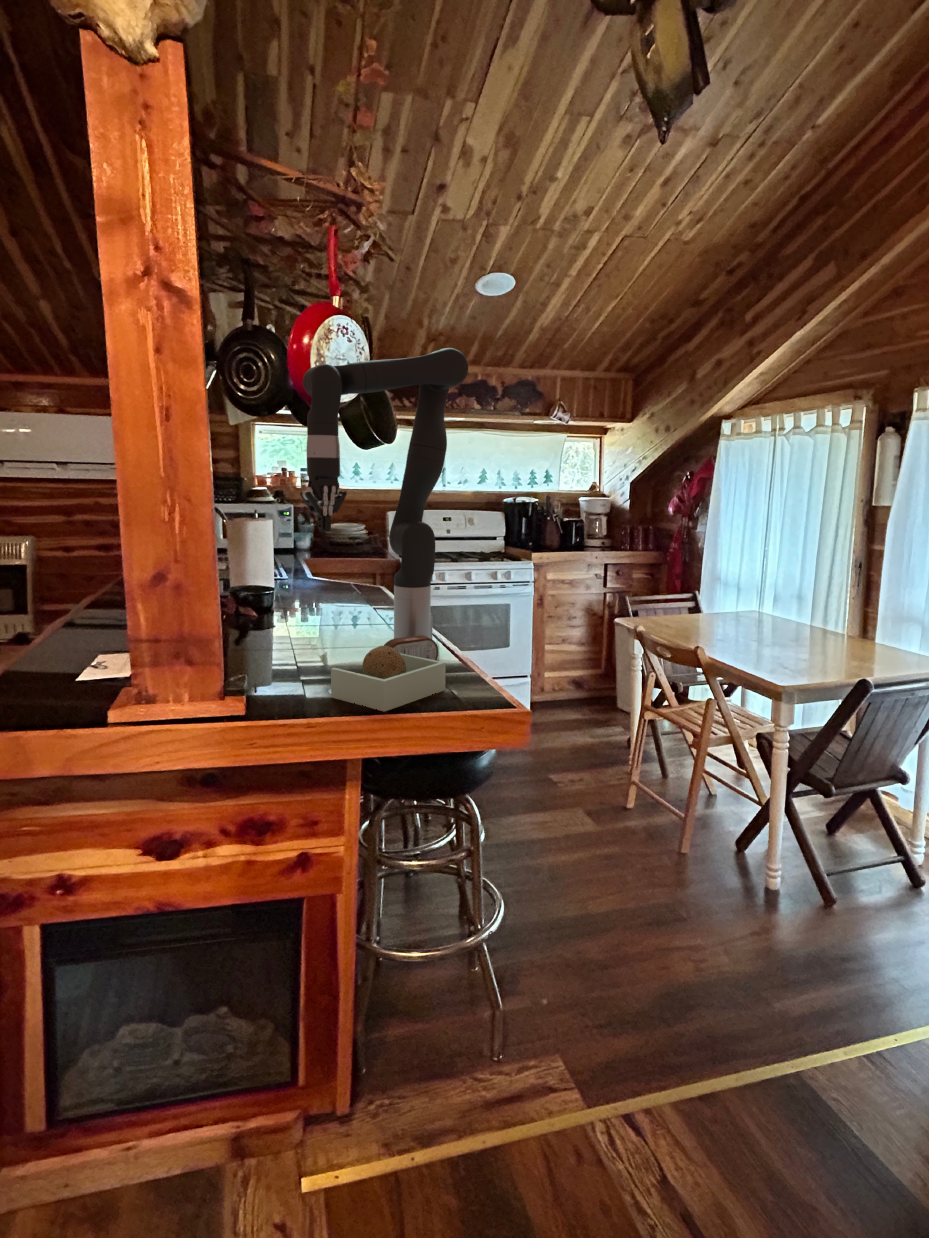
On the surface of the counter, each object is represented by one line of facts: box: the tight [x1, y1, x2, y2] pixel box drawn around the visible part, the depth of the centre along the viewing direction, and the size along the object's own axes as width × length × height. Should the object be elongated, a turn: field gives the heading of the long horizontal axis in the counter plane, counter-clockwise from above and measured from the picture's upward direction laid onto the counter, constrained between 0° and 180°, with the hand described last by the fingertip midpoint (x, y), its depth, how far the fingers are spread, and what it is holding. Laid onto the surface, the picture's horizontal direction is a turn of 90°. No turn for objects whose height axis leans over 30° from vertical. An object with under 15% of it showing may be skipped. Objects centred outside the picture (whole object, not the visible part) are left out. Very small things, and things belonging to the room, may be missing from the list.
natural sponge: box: [362, 645, 406, 679], centre depth 156 cm, size 9×9×10 cm
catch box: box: [330, 653, 447, 712], centre depth 156 cm, size 19×14×6 cm
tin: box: [383, 635, 439, 661], centre depth 172 cm, size 15×3×8 cm, turn 128°
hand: (324, 531), depth 177 cm, fingers closed
